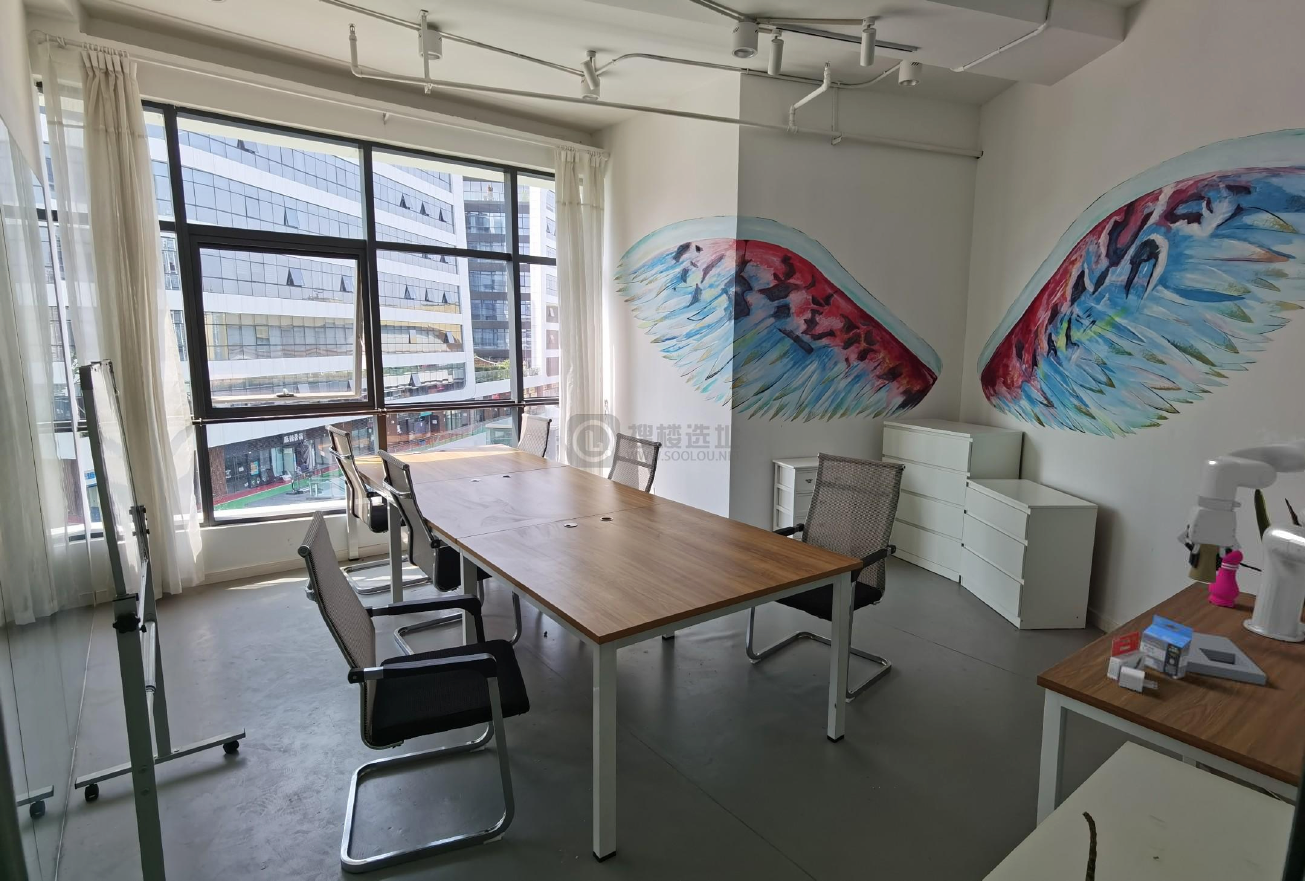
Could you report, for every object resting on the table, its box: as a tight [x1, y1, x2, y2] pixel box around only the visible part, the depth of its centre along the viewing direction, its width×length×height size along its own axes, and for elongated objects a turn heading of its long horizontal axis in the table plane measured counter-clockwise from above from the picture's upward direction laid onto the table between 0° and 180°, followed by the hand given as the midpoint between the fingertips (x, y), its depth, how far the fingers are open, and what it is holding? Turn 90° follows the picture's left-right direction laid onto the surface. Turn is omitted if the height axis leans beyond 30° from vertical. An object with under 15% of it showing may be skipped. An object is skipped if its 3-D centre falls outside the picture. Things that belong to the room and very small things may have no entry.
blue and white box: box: [1139, 614, 1194, 680], centre depth 159 cm, size 9×4×12 cm, turn 23°
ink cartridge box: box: [1106, 631, 1146, 681], centre depth 156 cm, size 2×11×10 cm, turn 116°
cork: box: [1188, 544, 1220, 584], centre depth 179 cm, size 6×6×11 cm
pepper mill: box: [1208, 549, 1244, 608], centre depth 203 cm, size 7×7×20 cm
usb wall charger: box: [1118, 666, 1158, 693], centre depth 150 cm, size 4×7×4 cm, turn 50°
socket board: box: [1173, 628, 1268, 686], centre depth 167 cm, size 16×22×2 cm
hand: (1204, 567), depth 179 cm, fingers closed on cork, 4 cm apart
